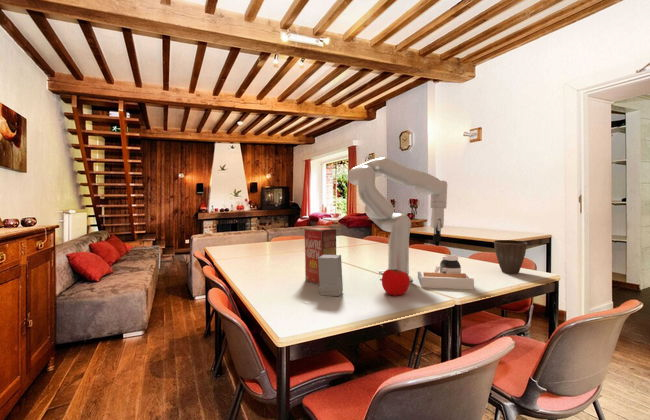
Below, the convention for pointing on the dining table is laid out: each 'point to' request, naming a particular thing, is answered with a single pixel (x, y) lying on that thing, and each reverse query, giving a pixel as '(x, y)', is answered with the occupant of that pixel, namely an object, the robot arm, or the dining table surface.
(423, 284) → the white rectangular tray
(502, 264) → the plant pot
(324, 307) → the dining table surface
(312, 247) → the food packaging
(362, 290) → the dining table surface
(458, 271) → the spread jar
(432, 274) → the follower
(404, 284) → the tomato
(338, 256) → the skincare box
